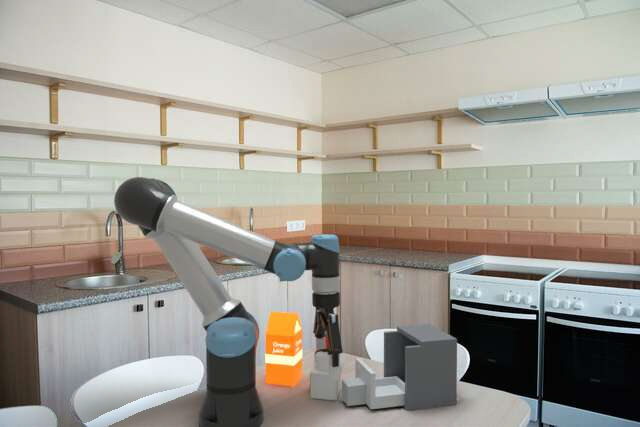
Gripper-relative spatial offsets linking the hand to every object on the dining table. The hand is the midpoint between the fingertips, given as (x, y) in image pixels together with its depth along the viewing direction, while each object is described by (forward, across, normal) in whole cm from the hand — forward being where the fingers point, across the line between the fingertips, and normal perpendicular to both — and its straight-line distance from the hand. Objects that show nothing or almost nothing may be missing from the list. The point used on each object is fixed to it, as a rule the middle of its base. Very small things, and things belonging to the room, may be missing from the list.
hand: (327, 369), depth 128 cm
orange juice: (+7, +13, +10) cm, 18 cm away
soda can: (+7, +18, -5) cm, 20 cm away
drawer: (+6, -7, -11) cm, 15 cm away
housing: (+7, -7, -23) cm, 26 cm away
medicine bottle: (+7, 0, +1) cm, 7 cm away
